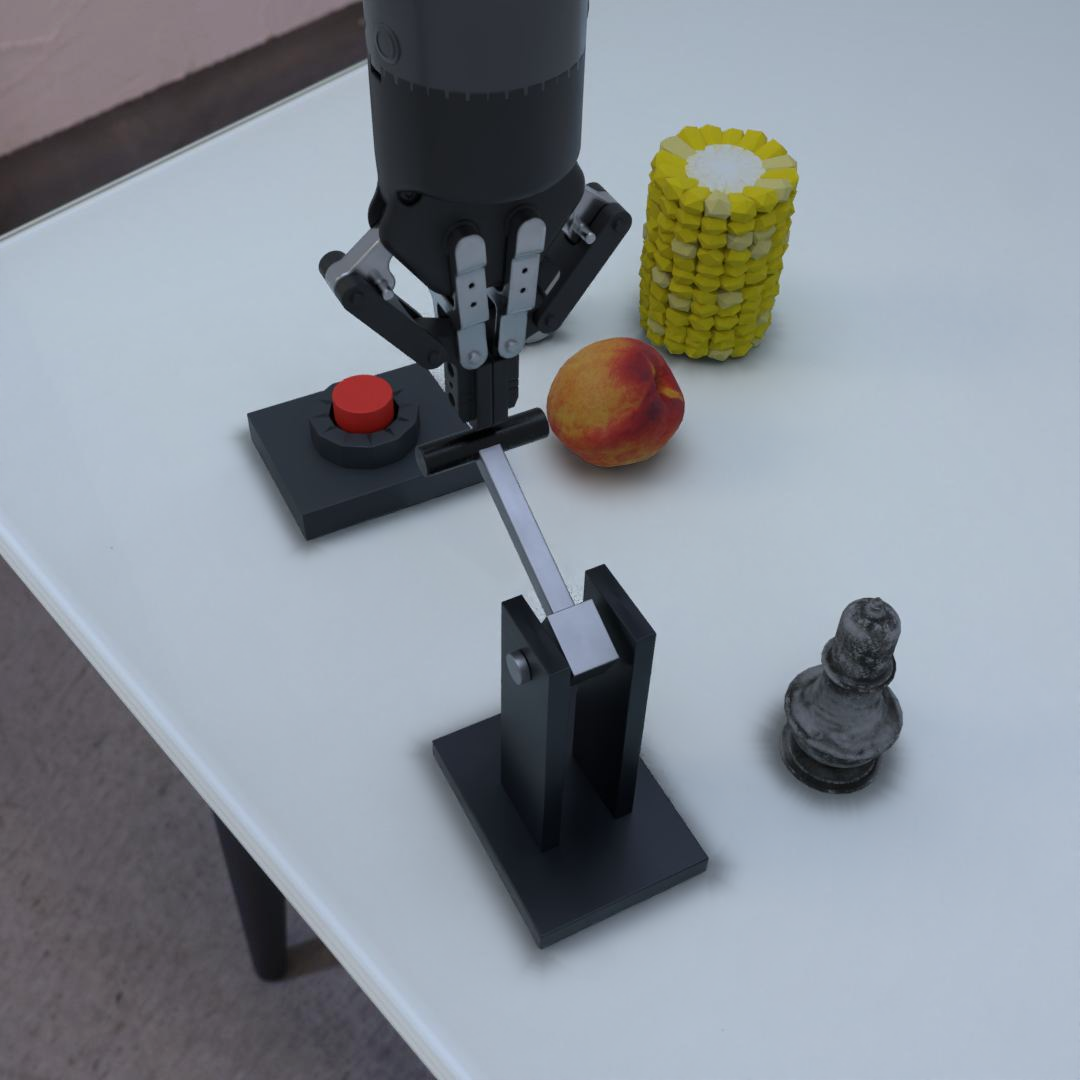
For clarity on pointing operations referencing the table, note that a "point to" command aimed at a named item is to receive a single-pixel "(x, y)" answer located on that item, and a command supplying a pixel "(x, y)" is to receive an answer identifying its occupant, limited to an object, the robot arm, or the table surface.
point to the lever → (527, 535)
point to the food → (714, 240)
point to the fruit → (615, 402)
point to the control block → (357, 454)
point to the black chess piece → (845, 703)
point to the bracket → (570, 775)
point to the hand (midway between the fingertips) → (481, 415)
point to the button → (363, 404)
